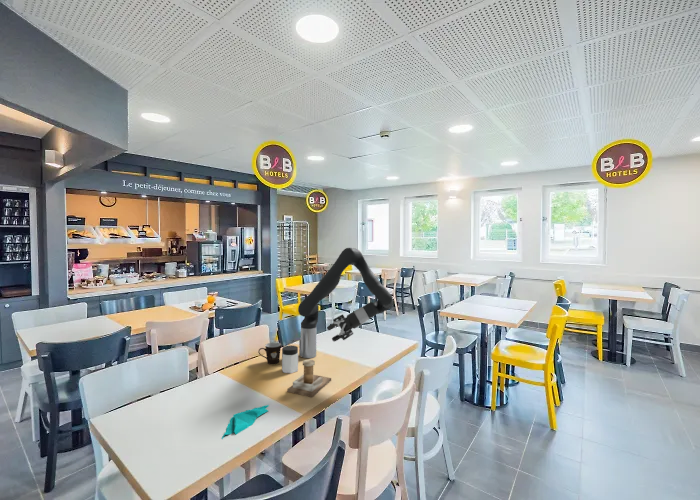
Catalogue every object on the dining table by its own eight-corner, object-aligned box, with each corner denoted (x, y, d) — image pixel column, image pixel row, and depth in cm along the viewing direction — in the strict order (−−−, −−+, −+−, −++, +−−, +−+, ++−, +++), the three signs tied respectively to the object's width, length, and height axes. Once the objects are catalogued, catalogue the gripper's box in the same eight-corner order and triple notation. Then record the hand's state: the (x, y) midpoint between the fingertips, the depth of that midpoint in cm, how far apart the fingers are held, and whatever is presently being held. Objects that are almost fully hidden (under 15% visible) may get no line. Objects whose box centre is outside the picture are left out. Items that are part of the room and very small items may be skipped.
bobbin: (299, 386, 157) (300, 362, 156) (306, 381, 162) (306, 358, 161) (310, 388, 154) (310, 365, 154) (316, 383, 159) (316, 360, 159)
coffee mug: (282, 359, 193) (283, 342, 192) (278, 365, 184) (278, 347, 184) (263, 359, 194) (263, 341, 194) (257, 364, 185) (257, 346, 185)
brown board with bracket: (287, 391, 154) (287, 383, 153) (308, 375, 171) (308, 368, 171) (312, 397, 149) (312, 388, 148) (331, 380, 166) (331, 373, 166)
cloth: (261, 402, 145) (261, 397, 144) (283, 413, 136) (283, 407, 136) (204, 430, 123) (204, 424, 123) (226, 444, 115) (226, 438, 115)
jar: (281, 367, 181) (281, 345, 181) (296, 366, 184) (296, 344, 183) (282, 374, 173) (283, 351, 172) (298, 372, 175) (299, 349, 175)
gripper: (350, 304, 173) (323, 321, 172) (360, 321, 161) (331, 339, 160) (355, 314, 177) (329, 330, 176) (366, 331, 165) (337, 348, 164)
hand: (330, 334), depth 168 cm, fingers open, 8 cm apart
